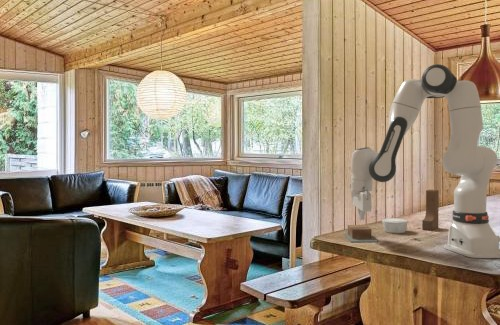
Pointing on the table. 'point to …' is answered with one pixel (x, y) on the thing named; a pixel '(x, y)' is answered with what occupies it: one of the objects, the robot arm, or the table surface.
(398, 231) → the ramekin
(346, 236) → the rubber mat
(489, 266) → the table surface
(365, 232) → the walnut block
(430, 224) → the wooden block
